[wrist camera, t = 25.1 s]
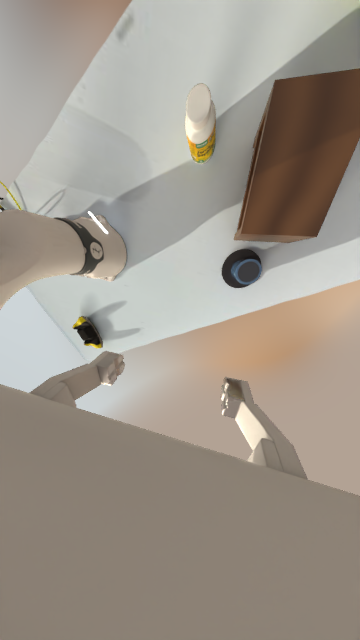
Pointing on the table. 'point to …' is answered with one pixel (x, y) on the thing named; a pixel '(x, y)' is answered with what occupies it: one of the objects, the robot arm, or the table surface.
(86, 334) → the gaming controller
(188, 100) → the supplement bottle
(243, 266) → the cup
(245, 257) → the coaster
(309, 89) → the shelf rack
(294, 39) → the table surface
